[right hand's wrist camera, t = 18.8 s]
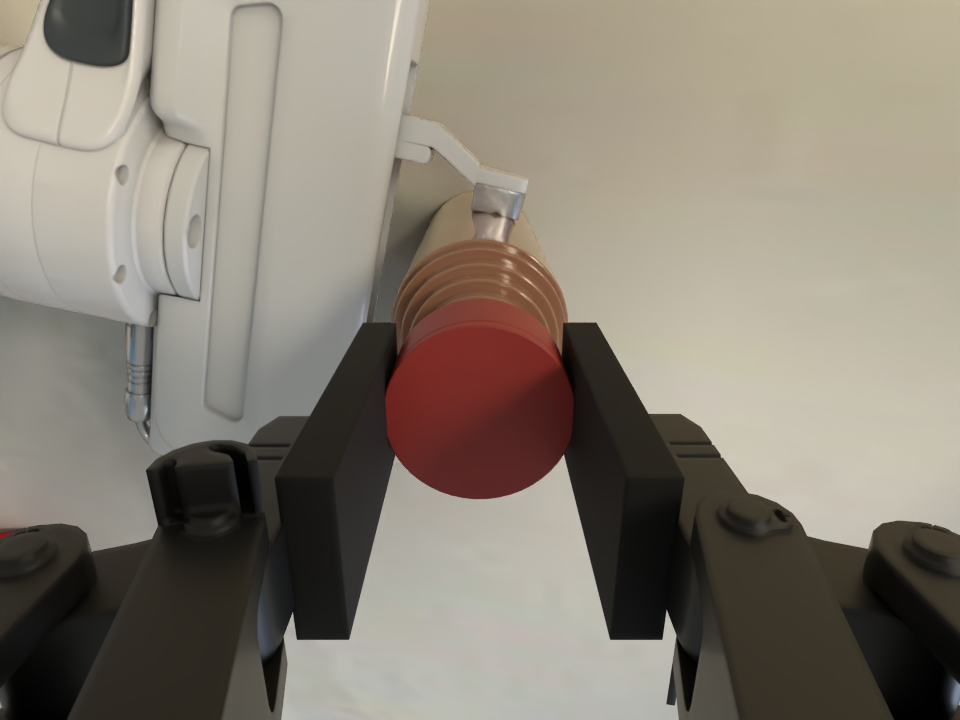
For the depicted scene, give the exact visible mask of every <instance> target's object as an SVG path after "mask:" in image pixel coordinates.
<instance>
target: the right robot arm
mask: <svg viewBox="0 0 960 720" xmlns="http://www.w3.org/2000/svg"><path fill="white" fill-rule="evenodd" d="M397 357H398V350H397V331H396V323H362V325H361V327H360V329H359V330H358V332H357V334H356V336H355V337H354V339H353V341H352V343H351V344H350V346H349V348H348V350H347V351H346V353H345V355H344V357H343V358H342V360H341V362H340V364H339V366H338V367H337V369H336V371H335V373H334V374H333V376H332V378H331V380H330V381H329V383H328V385H327V387H326V388H325V390H324V392H323V394H322V395H321V397H320V399H319V401H318V402H317V404H316V406H315V408H314V409H313V411H312V413H311V415H310V416H278V417H277V418H275V419H274V420H272V421H271V422H269V423H268V424H266V425H264V426H263V427H261V428H260V429H258V431H257V432H256V434H255V435H254V436H253V438H252V439H251V441H250V442H249V444H246V443H242V442H238V441H233V440H211V441H205V442H199V443H193V444H190V445H187V446H184V447H181V448H178V449H175V450H172V451H170V452H169V453H167V454H165V455H163V456H162V457H160V458H158V459H156V460H155V461H154V462H153V463H152V464H151V465H150V466H149V468H148V469H147V470H146V473H147V477H148V482H149V486H150V490H151V495H152V499H153V504H154V508H155V513H156V517H157V522H158V528H157V530H156V532H155V534H154V536H153V538H152V539H150V540H146V541H143V542H139V543H134V544H129V545H124V546H119V547H114V548H109V549H104V550H99V551H94V552H91V548H90V544H89V541H88V537H87V534H86V533H85V532H84V531H82V530H81V529H80V528H79V527H78V526H72V525H66V524H50V525H38V526H32V527H29V528H28V529H26V528H24V529H21V530H17V531H14V532H12V533H10V534H9V535H7V536H4V537H2V538H0V704H1V706H2V707H1V708H0V720H281V716H282V708H283V699H284V690H285V682H286V673H287V657H286V650H285V643H284V637H283V636H284V634H285V631H286V628H287V626H288V623H289V620H290V618H291V615H292V612H293V615H294V622H295V629H296V636H297V640H349V638H350V634H351V630H352V626H353V622H354V618H355V614H356V610H357V606H358V602H359V598H360V594H361V590H362V586H363V582H364V578H365V574H366V570H367V566H368V562H369V558H370V554H371V550H372V546H373V542H374V538H375V534H376V530H377V526H378V522H379V518H380V514H381V510H382V506H383V502H384V498H385V494H386V490H387V486H388V482H389V478H390V474H391V470H392V466H393V462H394V458H395V453H394V451H393V449H392V447H391V446H390V443H389V440H388V435H387V419H386V403H385V393H386V389H387V386H388V383H389V380H390V377H391V374H392V371H393V368H394V366H395V363H396V360H397ZM562 359H563V362H564V365H565V368H566V371H567V374H568V377H569V380H570V383H571V385H572V389H573V393H574V407H573V424H572V437H571V441H570V443H569V445H568V447H567V449H566V451H565V453H564V456H565V460H566V464H567V468H568V472H569V476H570V480H571V484H572V488H573V492H574V496H575V500H576V504H577V508H578V512H579V516H580V520H581V524H582V528H583V532H584V536H585V540H586V544H587V548H588V552H589V556H590V560H591V565H592V569H593V573H594V577H595V581H596V585H597V589H598V593H599V597H600V601H601V605H602V609H603V613H604V617H605V621H606V625H607V629H608V633H609V637H610V640H662V639H663V631H664V624H665V617H666V610H667V611H668V614H669V616H670V619H671V622H672V624H673V627H674V630H675V632H676V635H677V637H676V643H675V650H674V657H673V664H672V670H671V677H670V684H669V690H668V697H667V704H669V705H675V701H676V698H677V706H678V715H679V720H960V706H959V705H958V704H959V701H960V535H958V534H956V533H953V532H951V531H950V530H948V529H946V528H943V527H939V526H936V525H934V526H932V525H931V524H928V523H922V522H909V521H894V522H888V523H883V524H881V525H880V526H879V527H878V528H876V529H875V530H874V531H873V534H872V538H871V541H870V545H869V548H868V549H865V548H860V547H855V546H849V545H844V544H839V543H834V542H829V541H824V540H820V539H816V538H812V537H808V536H807V535H806V533H805V531H804V529H803V527H802V525H801V523H800V522H799V521H798V520H797V518H796V517H795V516H794V515H793V513H791V512H790V511H788V510H787V509H785V508H784V507H782V506H781V505H779V504H778V503H776V502H774V501H771V500H768V499H766V498H763V497H761V496H758V495H754V494H749V493H748V492H747V491H746V489H745V488H744V487H743V485H742V484H741V482H740V481H739V480H738V478H737V477H736V475H735V474H734V473H733V471H732V470H731V468H730V467H729V466H728V464H727V463H726V462H725V460H724V459H723V458H721V455H720V453H719V452H718V450H717V449H716V448H715V446H714V445H712V442H711V441H710V439H709V438H708V436H707V435H706V434H705V432H704V431H703V429H702V428H701V427H700V426H698V425H697V424H695V423H694V422H692V421H691V420H689V419H687V418H686V417H684V416H683V415H681V414H648V412H647V411H646V409H645V407H644V405H643V404H642V402H641V400H640V398H639V397H638V395H637V393H636V391H635V390H634V388H633V386H632V384H631V383H630V381H629V379H628V377H627V376H626V374H625V372H624V370H623V369H622V367H621V365H620V363H619V362H618V360H617V358H616V356H615V355H614V353H613V351H612V349H611V348H610V346H609V344H608V342H607V340H606V339H605V337H604V335H603V333H602V332H601V330H600V328H599V326H598V325H597V323H563V336H562Z"/></svg>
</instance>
